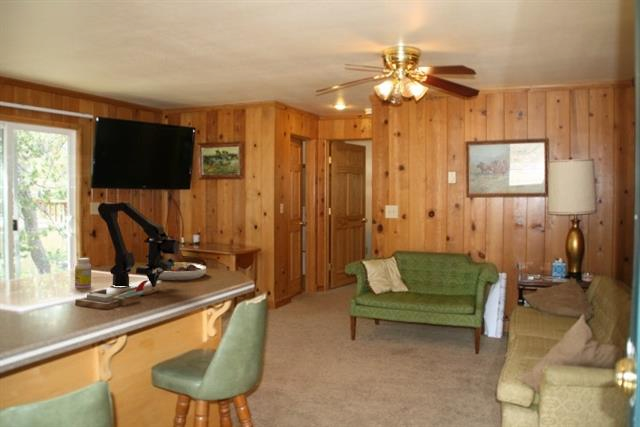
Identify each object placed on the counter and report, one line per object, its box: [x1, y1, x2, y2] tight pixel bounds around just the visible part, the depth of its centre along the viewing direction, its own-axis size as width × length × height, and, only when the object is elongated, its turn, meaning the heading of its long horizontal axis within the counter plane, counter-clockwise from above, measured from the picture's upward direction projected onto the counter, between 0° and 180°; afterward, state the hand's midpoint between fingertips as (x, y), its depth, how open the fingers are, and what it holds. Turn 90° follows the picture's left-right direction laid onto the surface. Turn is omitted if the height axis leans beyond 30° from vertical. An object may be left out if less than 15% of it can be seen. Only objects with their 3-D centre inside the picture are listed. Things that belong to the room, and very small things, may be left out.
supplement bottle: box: [74, 257, 92, 289], centre depth 232 cm, size 7×7×13 cm
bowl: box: [158, 261, 207, 281], centre depth 270 cm, size 30×30×8 cm
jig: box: [74, 288, 141, 310], centre depth 205 cm, size 18×17×3 cm
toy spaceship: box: [113, 279, 161, 298], centre depth 218 cm, size 27×11×5 cm, turn 174°
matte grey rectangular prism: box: [86, 293, 114, 303], centre depth 201 cm, size 4×9×4 cm, turn 69°
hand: (153, 287), depth 234 cm, fingers closed
